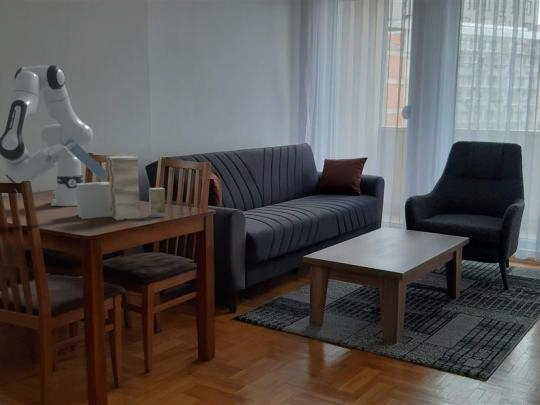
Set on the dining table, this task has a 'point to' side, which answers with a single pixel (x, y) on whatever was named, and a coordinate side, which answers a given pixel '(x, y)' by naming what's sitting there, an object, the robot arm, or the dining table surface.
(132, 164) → the pedestal
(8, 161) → the robot arm
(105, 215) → the low block
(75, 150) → the bar
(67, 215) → the dining table surface
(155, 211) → the skincare box
